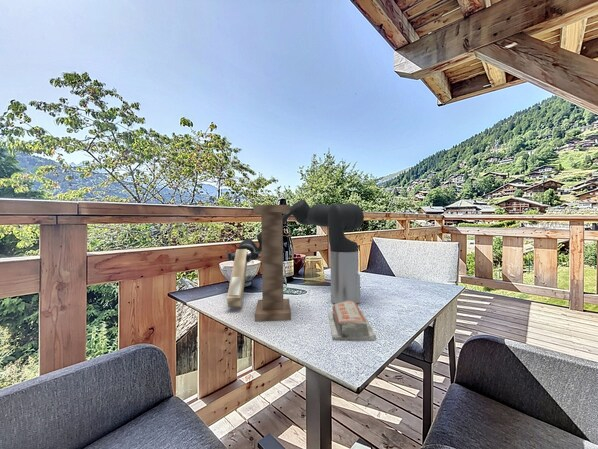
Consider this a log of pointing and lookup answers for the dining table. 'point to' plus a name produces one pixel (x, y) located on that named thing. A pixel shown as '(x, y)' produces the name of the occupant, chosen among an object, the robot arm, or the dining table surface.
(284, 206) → the stand
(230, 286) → the beige wooden bar
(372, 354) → the dining table surface
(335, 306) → the red and grey block
